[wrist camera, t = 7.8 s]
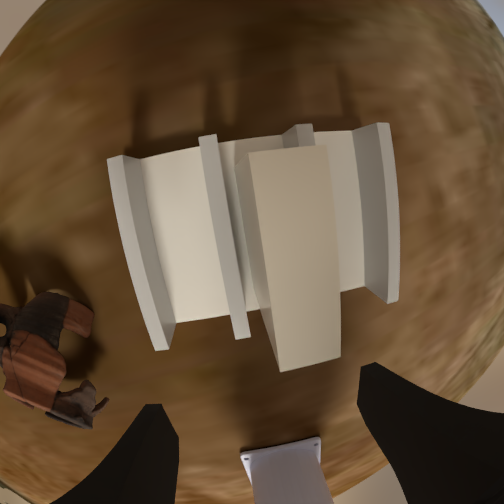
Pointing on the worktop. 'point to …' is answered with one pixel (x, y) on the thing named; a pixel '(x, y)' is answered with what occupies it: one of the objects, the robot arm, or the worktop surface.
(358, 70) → the worktop surface
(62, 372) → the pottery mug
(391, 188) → the dish rack
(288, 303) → the beige rectangular block
